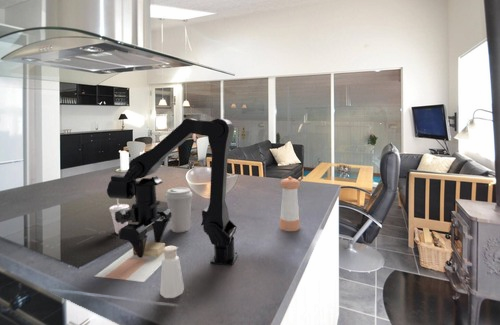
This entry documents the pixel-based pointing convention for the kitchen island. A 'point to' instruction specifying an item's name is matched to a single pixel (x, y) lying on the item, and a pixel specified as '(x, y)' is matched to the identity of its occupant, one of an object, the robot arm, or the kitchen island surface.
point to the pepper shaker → (171, 274)
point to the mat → (132, 267)
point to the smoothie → (113, 210)
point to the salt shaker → (289, 205)
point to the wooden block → (152, 249)
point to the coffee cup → (179, 208)
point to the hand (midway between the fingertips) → (149, 249)
